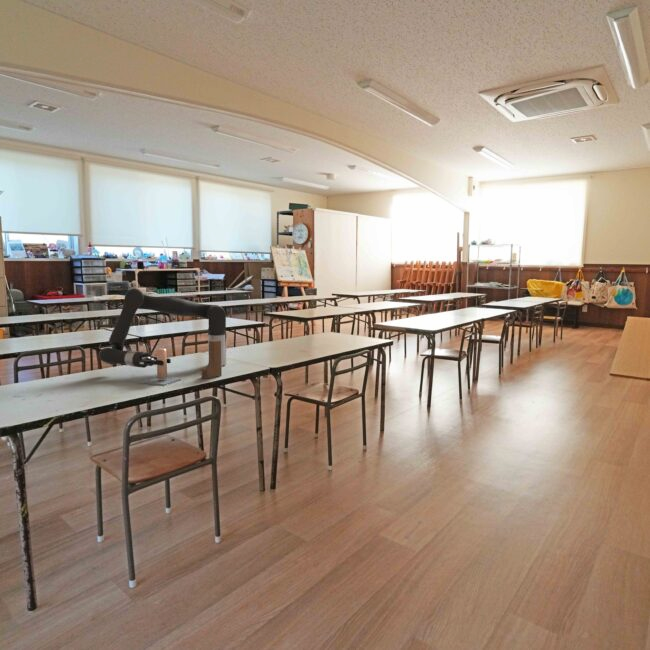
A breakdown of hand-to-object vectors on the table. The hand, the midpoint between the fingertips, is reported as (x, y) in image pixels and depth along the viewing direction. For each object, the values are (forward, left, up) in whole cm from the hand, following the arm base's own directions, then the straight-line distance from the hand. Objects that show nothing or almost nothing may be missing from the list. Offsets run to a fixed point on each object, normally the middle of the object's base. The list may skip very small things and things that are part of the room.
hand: (166, 362), depth 219 cm
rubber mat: (0, -3, -10) cm, 10 cm away
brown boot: (-17, +13, -10) cm, 24 cm away
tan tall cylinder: (0, -3, -8) cm, 8 cm away
